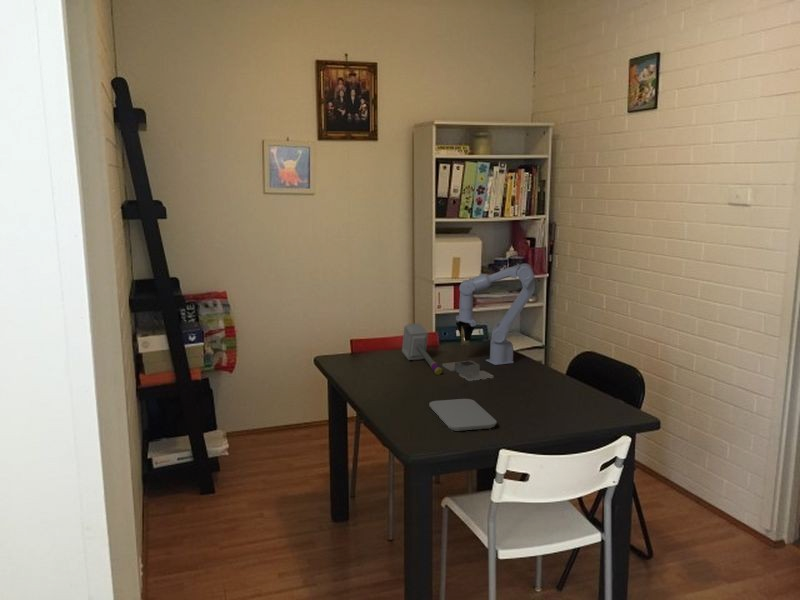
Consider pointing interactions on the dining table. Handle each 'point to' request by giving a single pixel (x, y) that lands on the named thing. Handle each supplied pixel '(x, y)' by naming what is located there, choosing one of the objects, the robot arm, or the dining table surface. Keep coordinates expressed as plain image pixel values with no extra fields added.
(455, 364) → the hinge base
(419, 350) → the hammer
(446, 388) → the dining table surface
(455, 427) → the tablet
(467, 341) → the hinge pin
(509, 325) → the robot arm
